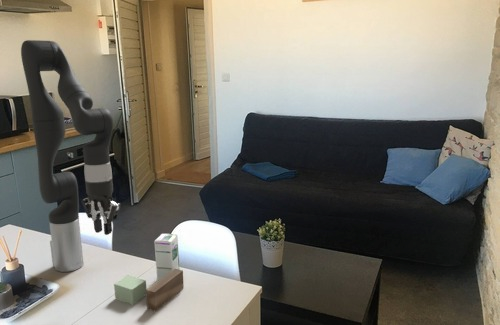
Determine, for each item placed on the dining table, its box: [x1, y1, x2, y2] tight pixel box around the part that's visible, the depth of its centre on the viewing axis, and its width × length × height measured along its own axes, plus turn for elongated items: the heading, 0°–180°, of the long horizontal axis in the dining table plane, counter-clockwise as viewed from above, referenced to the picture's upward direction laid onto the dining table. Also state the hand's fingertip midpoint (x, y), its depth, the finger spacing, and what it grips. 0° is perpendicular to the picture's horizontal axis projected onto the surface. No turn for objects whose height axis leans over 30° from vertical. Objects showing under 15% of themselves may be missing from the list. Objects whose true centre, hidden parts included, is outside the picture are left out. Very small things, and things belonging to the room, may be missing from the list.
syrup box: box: [154, 233, 181, 282], centre depth 138 cm, size 6×6×14 cm
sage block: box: [113, 274, 148, 305], centre depth 129 cm, size 7×6×5 cm
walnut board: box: [145, 268, 185, 312], centre depth 128 cm, size 3×14×6 cm, turn 154°
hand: (103, 232), depth 128 cm, fingers open, 3 cm apart
